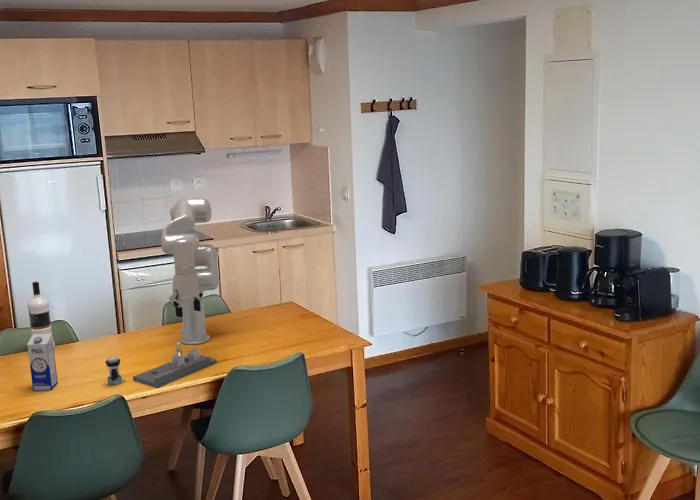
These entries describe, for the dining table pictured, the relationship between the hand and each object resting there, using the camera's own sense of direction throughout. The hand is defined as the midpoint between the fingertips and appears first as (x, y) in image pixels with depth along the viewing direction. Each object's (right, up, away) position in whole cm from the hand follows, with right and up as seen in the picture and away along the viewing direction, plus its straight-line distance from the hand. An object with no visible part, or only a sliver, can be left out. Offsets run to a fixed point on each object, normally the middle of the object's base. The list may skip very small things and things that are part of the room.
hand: (188, 313), depth 290 cm
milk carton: (-51, -27, -10) cm, 59 cm away
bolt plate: (-5, -23, +2) cm, 23 cm away
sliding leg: (-5, -21, +1) cm, 21 cm away
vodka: (-69, -18, +32) cm, 79 cm away
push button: (-25, -26, -8) cm, 37 cm away
